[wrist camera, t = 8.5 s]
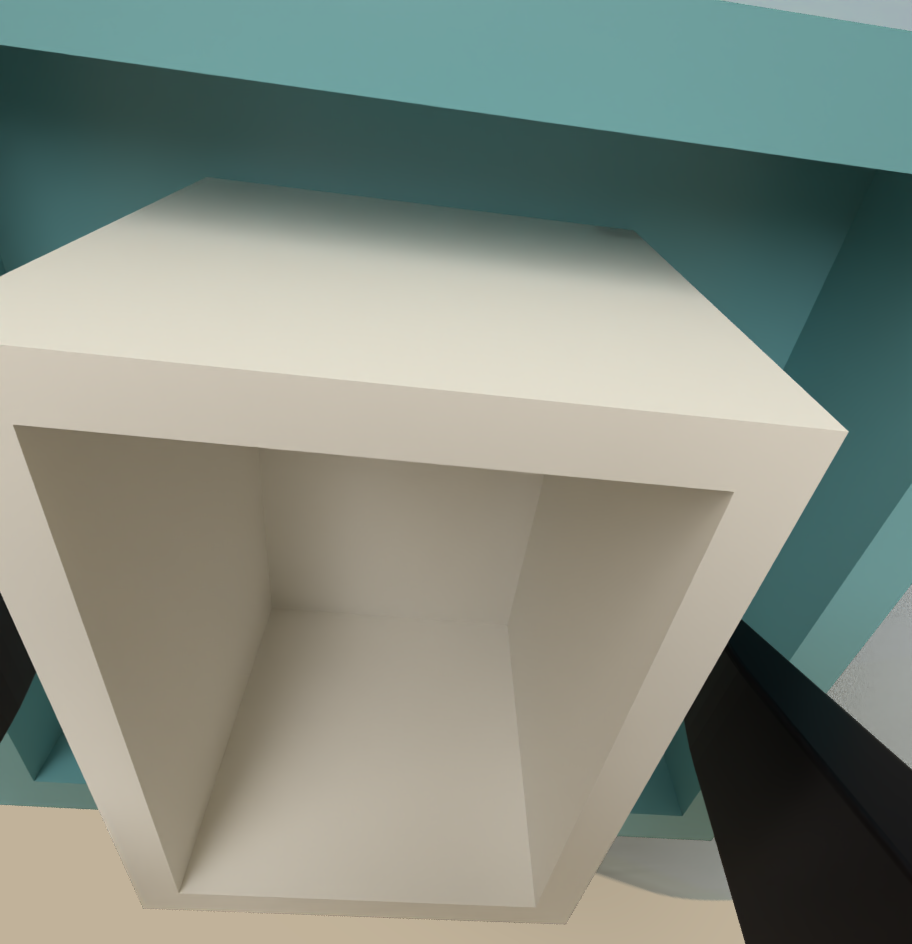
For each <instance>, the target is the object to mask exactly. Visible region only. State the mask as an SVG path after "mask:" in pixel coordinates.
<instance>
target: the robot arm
mask: <svg viewBox="0 0 912 944" xmlns="http://www.w3.org/2000/svg"><path fill="white" fill-rule="evenodd" d="M35 674H36V670H35V668H34V666H33V664H32V661H31V659H30V657H29V655H28V652H27V650H26V648H25V646H24V644H23V641H22V639H21V637H20V635H19V632H18V630H17V628H16V626H15V624H14V621H13V619H12V617H11V615H10V613H9V610H8V608H7V606H6V604H5V601H4V599H3V597H2V595H1V593H0V743H1V741H2V740H3V738H4V736H5V734H6V733H7V731H8V729H9V727H10V726H11V724H12V722H13V720H14V718H15V716H16V714H17V713H18V711H19V709H20V707H21V705H22V703H23V701H24V699H25V697H26V694H27V692H28V690H29V688H30V686H31V683H32V681H33V679H34V677H35ZM684 724H685V730H686V735H687V740H688V745H689V750H690V753H691V757H692V761H693V765H694V768H695V772H696V775H697V779H698V782H699V786H700V789H701V792H702V796H703V799H704V803H705V806H706V810H707V813H708V817H709V820H710V823H711V827H712V830H713V834H714V837H715V841H716V844H717V847H718V851H719V854H720V858H721V861H722V865H723V868H724V872H725V875H726V878H727V882H728V885H729V889H730V892H731V896H732V899H733V903H734V906H735V909H736V913H737V916H738V920H739V923H740V926H741V930H742V934H743V937H744V940H745V944H912V769H911V768H910V767H908V766H907V765H906V764H905V763H904V762H903V761H902V760H900V759H899V758H898V757H897V756H896V755H895V754H894V753H893V752H891V751H890V750H889V749H888V748H887V747H886V746H885V745H884V744H882V743H881V742H880V741H879V740H878V739H877V738H876V737H874V736H873V735H872V734H871V733H870V732H869V731H868V730H867V729H865V728H864V727H863V726H862V725H861V724H860V723H859V722H858V721H856V720H855V719H854V718H853V717H852V716H851V715H850V714H848V713H847V712H846V711H845V710H844V709H843V708H842V707H841V706H839V705H838V704H837V703H836V702H835V701H834V700H833V699H831V698H830V697H829V696H828V695H827V694H826V693H825V692H824V691H822V690H821V689H820V688H819V687H818V686H817V685H816V684H815V683H813V682H812V681H811V680H810V679H809V678H808V677H807V676H805V675H804V674H803V673H802V672H801V671H800V670H799V669H798V668H796V667H795V666H794V665H793V664H792V663H791V662H790V661H788V660H787V659H786V658H785V657H784V656H783V655H782V654H781V653H779V652H778V651H777V650H776V649H775V648H774V647H773V646H772V645H770V644H769V643H768V642H767V641H766V640H765V639H764V638H762V637H761V636H760V635H759V634H758V633H757V632H756V631H755V630H753V629H752V628H751V627H750V626H749V625H748V624H747V623H746V622H744V621H743V620H742V619H741V620H740V622H739V624H738V625H737V627H736V629H735V631H734V632H733V634H732V636H731V638H730V639H729V641H728V643H727V645H726V646H725V648H724V650H723V652H722V653H721V655H720V657H719V659H718V660H717V662H716V664H715V666H714V667H713V669H712V671H711V672H710V674H709V676H708V678H707V679H706V681H705V683H704V685H703V686H702V688H701V690H700V692H699V693H698V695H697V697H696V699H695V700H694V702H693V704H692V706H691V707H690V709H689V711H688V713H687V714H686V716H685V718H684Z"/></svg>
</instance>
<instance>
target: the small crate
mask: <svg viewBox="0 0 912 944" xmlns="http://www.w3.org/2000/svg"><path fill="white" fill-rule="evenodd" d="M848 432H849V431H848V430H846V429H845V428H844V427H843V426H842V425H841V424H840V423H839V422H838V421H837V420H836V419H835V418H834V417H833V416H832V415H830V414H829V413H828V412H827V411H826V410H825V409H824V408H823V407H822V406H821V405H820V404H819V403H818V402H817V401H815V400H814V399H813V398H812V397H811V396H810V395H809V394H808V393H807V392H806V391H805V390H804V389H803V388H802V387H800V386H799V385H798V384H797V383H796V382H795V381H794V380H793V379H792V378H791V377H790V376H789V375H788V374H787V373H786V372H784V371H783V370H782V369H781V368H780V367H779V366H778V365H777V364H776V363H775V362H774V361H773V360H772V359H771V358H769V357H768V356H767V355H766V354H765V353H764V352H763V351H762V350H761V349H760V348H759V347H758V346H757V345H756V344H755V343H753V342H752V341H751V340H750V339H749V338H748V337H747V336H746V335H745V334H744V333H743V332H742V331H741V330H740V329H738V328H737V327H736V326H735V325H734V324H733V323H732V322H731V321H730V320H729V319H728V318H727V317H726V316H725V315H723V314H722V313H721V312H720V311H719V310H718V309H717V308H716V307H715V306H714V305H713V304H712V303H711V302H710V301H709V300H707V299H706V298H705V297H704V296H703V295H702V294H701V293H700V292H699V291H698V290H697V289H696V288H695V287H694V286H692V285H691V284H690V283H689V282H688V281H687V280H686V279H685V278H684V277H683V276H682V275H681V274H680V273H679V272H678V271H676V270H675V269H674V268H673V267H672V266H671V265H670V264H669V263H668V262H667V261H666V260H665V259H664V258H663V257H661V256H660V255H659V254H658V253H657V252H656V251H655V250H654V249H653V248H652V247H651V246H650V245H649V244H648V243H646V242H645V241H644V240H643V239H642V238H641V237H640V236H639V235H638V234H637V233H636V232H635V231H634V230H626V229H618V228H610V227H602V226H594V225H586V224H578V223H570V222H562V221H554V220H546V219H538V218H530V217H522V216H514V215H506V214H498V213H490V212H482V211H474V210H466V209H458V208H450V207H442V206H434V205H426V204H418V203H410V202H402V201H394V200H386V199H378V198H370V197H362V196H354V195H346V194H338V193H330V192H322V191H314V190H306V189H298V188H290V187H282V186H274V185H266V184H258V183H250V182H242V181H234V180H226V179H218V178H210V177H206V178H204V179H202V180H199V181H197V182H195V183H193V184H191V185H189V186H187V187H185V188H183V189H181V190H179V191H177V192H174V193H172V194H170V195H168V196H166V197H164V198H162V199H160V200H158V201H156V202H154V203H152V204H150V205H147V206H145V207H143V208H141V209H139V210H137V211H135V212H133V213H131V214H129V215H127V216H125V217H123V218H120V219H118V220H116V221H114V222H112V223H110V224H108V225H106V226H104V227H102V228H100V229H98V230H95V231H93V232H91V233H89V234H87V235H85V236H83V237H81V238H79V239H77V240H75V241H73V242H71V243H68V244H66V245H64V246H62V247H60V248H58V249H56V250H54V251H52V252H50V253H48V254H46V255H44V256H41V257H39V258H37V259H35V260H33V261H31V262H29V263H27V264H25V265H23V266H21V267H19V268H16V269H14V270H12V271H10V272H8V273H6V274H4V275H2V276H0V593H1V595H2V597H3V599H4V601H5V604H6V606H7V608H8V610H9V613H10V615H11V617H12V619H13V621H14V624H15V626H16V628H17V630H18V632H19V635H20V637H21V639H22V641H23V644H24V646H25V648H26V650H27V652H28V655H29V657H30V659H31V661H32V664H33V666H34V668H35V670H36V672H37V675H38V677H39V679H40V681H41V683H42V686H43V688H44V690H45V692H46V695H47V697H48V699H49V701H50V703H51V706H52V708H53V710H54V712H55V714H56V717H57V719H58V721H59V723H60V726H61V728H62V730H63V732H64V734H65V737H66V739H67V741H68V743H69V746H70V748H71V750H72V752H73V754H74V757H75V759H76V761H77V763H78V765H79V768H80V770H81V772H82V774H83V777H84V779H85V781H86V783H87V785H88V788H89V790H90V792H91V794H92V796H93V799H94V801H95V803H96V805H97V808H98V810H99V812H100V814H101V816H102V819H103V821H104V823H105V825H106V827H107V830H108V832H109V834H110V836H111V838H112V841H113V843H114V845H115V847H116V849H117V852H118V854H119V856H120V858H121V861H122V863H123V865H124V867H125V870H126V872H127V874H128V876H129V878H130V881H131V883H132V885H133V887H134V890H135V892H136V894H137V896H138V898H139V900H140V903H141V905H142V907H143V909H169V910H196V911H222V912H248V913H275V914H302V915H328V916H355V917H383V918H409V919H434V920H435V919H436V920H463V921H487V922H488V921H490V922H514V923H515V922H516V923H541V924H566V923H567V922H568V920H569V918H570V916H571V915H572V913H573V911H574V909H575V908H576V906H577V904H578V902H579V901H580V899H581V897H582V895H583V894H584V892H585V890H586V888H587V887H588V885H589V883H590V882H591V880H592V878H593V876H594V875H595V873H596V871H597V869H598V868H599V866H600V864H601V862H602V861H603V859H604V857H605V855H606V854H607V852H608V850H609V848H610V847H611V845H612V843H613V841H614V840H615V838H616V836H617V835H618V833H619V831H620V829H621V828H622V826H623V824H624V822H625V821H626V819H627V817H628V815H629V814H630V812H631V810H632V808H633V807H634V805H635V803H636V801H637V800H638V798H639V796H640V794H641V793H642V791H643V789H644V787H645V786H646V784H647V782H648V781H649V779H650V777H651V775H652V774H653V772H654V770H655V768H656V767H657V765H658V763H659V761H660V760H661V758H662V756H663V754H664V753H665V751H666V749H667V747H668V746H669V744H670V742H671V740H672V739H673V737H674V735H675V733H676V732H677V730H678V728H679V726H680V725H681V723H682V721H683V720H684V718H685V716H686V714H687V713H688V711H689V709H690V707H691V706H692V704H693V702H694V700H695V699H696V697H697V695H698V693H699V692H700V690H701V688H702V686H703V685H704V683H705V681H706V679H707V678H708V676H709V674H710V672H711V671H712V669H713V667H714V666H715V664H716V662H717V660H718V659H719V657H720V655H721V653H722V652H723V650H724V648H725V646H726V645H727V643H728V641H729V639H730V638H731V636H732V634H733V632H734V631H735V629H736V627H737V625H738V624H739V622H740V620H741V618H742V617H743V615H744V613H745V612H746V610H747V608H748V606H749V605H750V603H751V601H752V599H753V598H754V596H755V594H756V592H757V591H758V589H759V587H760V585H761V584H762V582H763V580H764V578H765V577H766V575H767V573H768V571H769V570H770V568H771V566H772V564H773V563H774V561H775V559H776V558H777V556H778V554H779V552H780V551H781V549H782V547H783V545H784V544H785V542H786V540H787V538H788V537H789V535H790V533H791V531H792V530H793V528H794V526H795V524H796V523H797V521H798V519H799V517H800V516H801V514H802V512H803V510H804V509H805V507H806V505H807V504H808V502H809V500H810V498H811V497H812V495H813V493H814V491H815V490H816V488H817V486H818V484H819V483H820V481H821V479H822V477H823V476H824V474H825V472H826V470H827V469H828V467H829V465H830V463H831V462H832V460H833V458H834V456H835V455H836V453H837V451H838V449H839V448H840V446H841V444H842V443H843V441H844V439H845V437H846V436H847V434H848Z"/></svg>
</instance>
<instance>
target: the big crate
mask: <svg viewBox="0 0 912 944" xmlns="http://www.w3.org/2000/svg"><path fill="white" fill-rule="evenodd" d="M206 177H210V178H218V179H226V180H234V181H242V182H250V183H258V184H266V185H274V186H282V187H290V188H298V189H306V190H314V191H322V192H330V193H338V194H346V195H354V196H362V197H370V198H378V199H386V200H394V201H402V202H410V203H418V204H426V205H434V206H442V207H450V208H458V209H466V210H474V211H482V212H490V213H498V214H506V215H514V216H522V217H530V218H538V219H546V220H554V221H562V222H570V223H578V224H586V225H594V226H602V227H610V228H618V229H626V230H634V231H635V232H636V233H637V234H638V235H639V236H640V237H641V238H642V239H643V240H644V241H645V242H646V243H648V244H649V245H650V246H651V247H652V248H653V249H654V250H655V251H656V252H657V253H658V254H659V255H660V256H661V257H663V258H664V259H665V260H666V261H667V262H668V263H669V264H670V265H671V266H672V267H673V268H674V269H675V270H676V271H678V272H679V273H680V274H681V275H682V276H683V277H684V278H685V279H686V280H687V281H688V282H689V283H690V284H691V285H692V286H694V287H695V288H696V289H697V290H698V291H699V292H700V293H701V294H702V295H703V296H704V297H705V298H706V299H707V300H709V301H710V302H711V303H712V304H713V305H714V306H715V307H716V308H717V309H718V310H719V311H720V312H721V313H722V314H723V315H725V316H726V317H727V318H728V319H729V320H730V321H731V322H732V323H733V324H734V325H735V326H736V327H737V328H738V329H740V330H741V331H742V332H743V333H744V334H745V335H746V336H747V337H748V338H749V339H750V340H751V341H752V342H753V343H755V344H756V345H757V346H758V347H759V348H760V349H761V350H762V351H763V352H764V353H765V354H766V355H767V356H768V357H769V358H771V359H772V360H773V361H774V362H775V363H776V364H777V365H778V366H779V367H780V368H781V369H782V370H783V371H784V372H786V373H787V374H788V375H789V376H790V377H791V378H792V379H793V380H794V381H795V382H796V383H797V384H798V385H799V386H800V387H802V388H803V389H804V390H805V391H806V392H807V393H808V394H809V395H810V396H811V397H812V398H813V399H814V400H815V401H817V402H818V403H819V404H820V405H821V406H822V407H823V408H824V409H825V410H826V411H827V412H828V413H829V414H830V415H832V416H833V417H834V418H835V419H836V420H837V421H838V422H839V423H840V424H841V425H842V426H843V427H844V428H845V429H846V430H848V431H849V432H848V434H847V436H846V437H845V439H844V441H843V443H842V444H841V446H840V448H839V449H838V451H837V453H836V455H835V456H834V458H833V460H832V462H831V463H830V465H829V467H828V469H827V470H826V472H825V474H824V476H823V477H822V479H821V481H820V483H819V484H818V486H817V488H816V490H815V491H814V493H813V495H812V497H811V498H810V500H809V502H808V504H807V505H806V507H805V509H804V510H803V512H802V514H801V516H800V517H799V519H798V521H797V523H796V524H795V526H794V528H793V530H792V531H791V533H790V535H789V537H788V538H787V540H786V542H785V544H784V545H783V547H782V549H781V551H780V552H779V554H778V556H777V558H776V559H775V561H774V563H773V564H772V566H771V568H770V570H769V571H768V573H767V575H766V577H765V578H764V580H763V582H762V584H761V585H760V587H759V589H758V591H757V592H756V594H755V596H754V598H753V599H752V601H751V603H750V605H749V606H748V608H747V610H746V612H745V613H744V615H743V617H742V618H741V619H742V620H743V621H744V622H746V623H747V624H748V625H749V626H750V627H751V628H752V629H753V630H755V631H756V632H757V633H758V634H759V635H760V636H761V637H762V638H764V639H765V640H766V641H767V642H768V643H769V644H770V645H772V646H773V647H774V648H775V649H776V650H777V651H778V652H779V653H781V654H782V655H783V656H784V657H785V658H786V659H787V660H788V661H790V662H791V663H792V664H793V665H794V666H795V667H796V668H798V669H799V670H800V671H801V672H802V673H803V674H804V675H805V676H807V677H808V678H809V679H810V680H811V681H812V682H813V683H815V684H816V685H817V686H818V687H819V688H820V689H821V690H822V691H824V692H825V693H827V692H828V690H829V689H830V688H831V687H832V685H833V684H834V683H835V682H836V680H837V679H838V678H839V676H840V675H841V674H842V673H843V671H844V670H845V669H846V667H847V666H848V665H849V664H850V662H851V661H852V660H853V658H854V657H855V656H856V655H857V653H858V652H859V651H860V650H861V648H862V647H863V646H864V644H865V643H866V642H867V641H868V639H869V638H870V637H871V635H872V634H873V633H874V632H875V630H876V629H877V628H878V626H879V625H880V624H881V623H882V621H883V620H884V619H885V618H886V616H887V615H888V614H889V612H890V611H891V610H892V609H893V607H894V606H895V605H896V603H897V602H898V601H899V600H900V598H901V597H902V596H903V594H904V593H905V592H906V591H907V589H908V588H909V587H910V586H911V584H912V31H907V30H900V29H894V28H888V27H882V26H876V25H869V24H863V23H857V22H851V21H844V20H838V19H832V18H826V17H820V16H813V15H807V14H801V13H795V12H789V11H782V10H776V9H770V8H764V7H757V6H751V5H745V4H739V3H733V2H726V1H720V0H0V276H2V275H4V274H6V273H8V272H10V271H12V270H14V269H16V268H19V267H21V266H23V265H25V264H27V263H29V262H31V261H33V260H35V259H37V258H39V257H41V256H44V255H46V254H48V253H50V252H52V251H54V250H56V249H58V248H60V247H62V246H64V245H66V244H68V243H71V242H73V241H75V240H77V239H79V238H81V237H83V236H85V235H87V234H89V233H91V232H93V231H95V230H98V229H100V228H102V227H104V226H106V225H108V224H110V223H112V222H114V221H116V220H118V219H120V218H123V217H125V216H127V215H129V214H131V213H133V212H135V211H137V210H139V209H141V208H143V207H145V206H147V205H150V204H152V203H154V202H156V201H158V200H160V199H162V198H164V197H166V196H168V195H170V194H172V193H174V192H177V191H179V190H181V189H183V188H185V187H187V186H189V185H191V184H193V183H195V182H197V181H199V180H202V179H204V178H206ZM0 805H17V806H37V807H38V806H39V807H56V808H76V809H95V810H96V809H97V810H98V808H97V805H96V803H95V801H94V799H93V796H92V794H91V792H90V790H89V788H88V785H87V783H86V781H85V779H84V777H83V774H82V772H81V770H80V768H79V765H78V763H77V761H76V759H75V757H74V754H73V752H72V750H71V748H70V746H69V743H68V741H67V739H66V737H65V734H64V732H63V730H62V728H61V726H60V723H59V721H58V719H57V717H56V714H55V712H54V710H53V708H52V706H51V703H50V701H49V699H48V697H47V695H46V692H45V690H44V688H43V686H42V683H41V681H40V679H39V677H38V675H37V672H36V674H35V677H34V679H33V681H32V683H31V686H30V688H29V690H28V692H27V694H26V697H25V699H24V701H23V703H22V705H21V707H20V709H19V711H18V713H17V714H16V716H15V718H14V720H13V722H12V724H11V726H10V727H9V729H8V731H7V733H6V734H5V736H4V738H3V740H2V741H1V743H0ZM617 836H627V837H646V838H666V839H686V840H705V841H711V840H712V839H713V838H714V834H713V830H712V827H711V823H710V820H709V817H708V813H707V810H706V806H705V803H704V799H703V796H702V792H701V789H700V786H699V782H698V779H697V775H696V772H695V768H694V765H693V761H692V757H691V753H690V750H689V745H688V740H687V735H686V730H685V724H684V720H683V721H682V723H681V725H680V726H679V728H678V730H677V732H676V733H675V735H674V737H673V739H672V740H671V742H670V744H669V746H668V747H667V749H666V751H665V753H664V754H663V756H662V758H661V760H660V761H659V763H658V765H657V767H656V768H655V770H654V772H653V774H652V775H651V777H650V779H649V781H648V782H647V784H646V786H645V787H644V789H643V791H642V793H641V794H640V796H639V798H638V800H637V801H636V803H635V805H634V807H633V808H632V810H631V812H630V814H629V815H628V817H627V819H626V821H625V822H624V824H623V826H622V828H621V829H620V831H619V833H618V835H617Z"/></svg>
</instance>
